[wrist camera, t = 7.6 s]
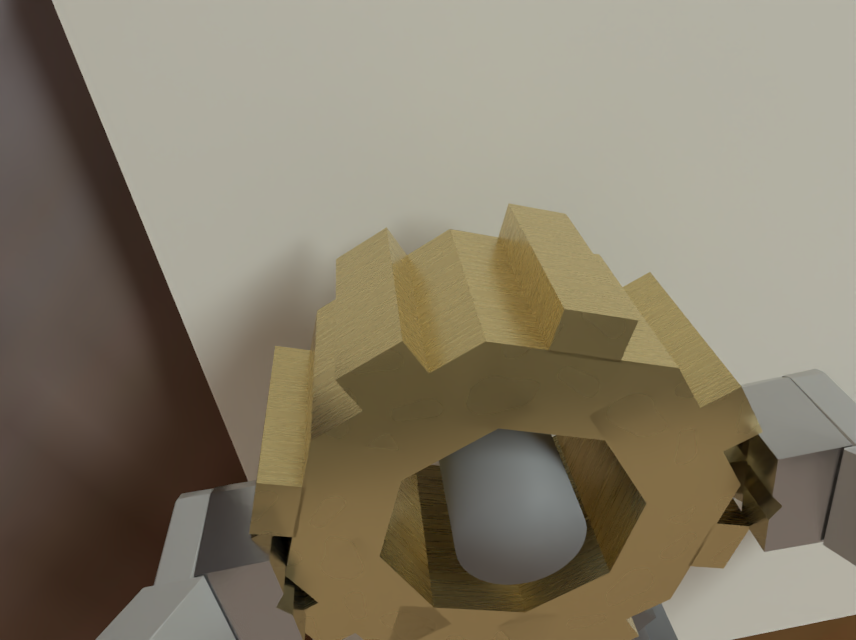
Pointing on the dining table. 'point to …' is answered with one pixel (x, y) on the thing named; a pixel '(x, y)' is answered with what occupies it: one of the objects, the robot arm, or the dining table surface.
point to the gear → (484, 413)
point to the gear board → (503, 206)
